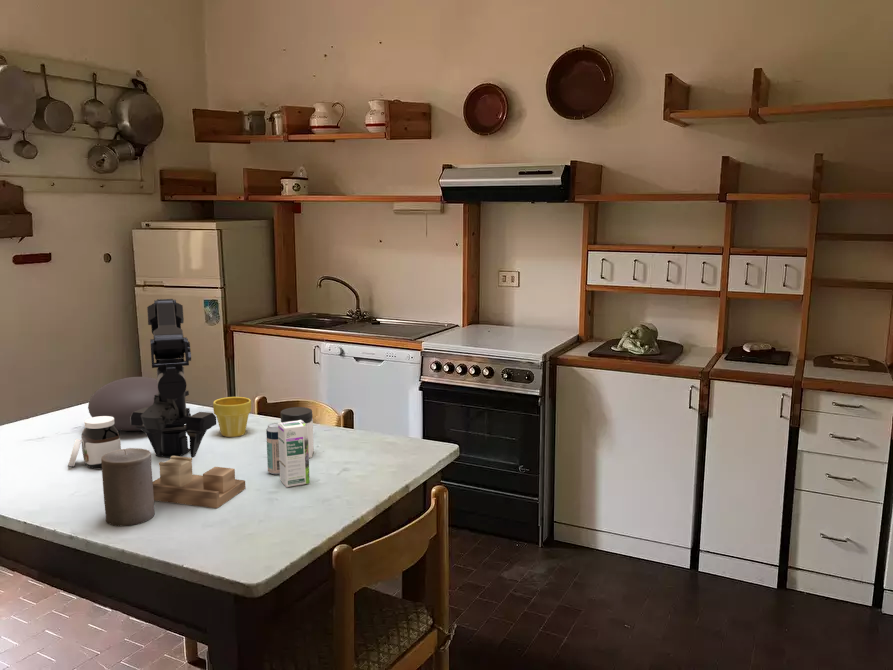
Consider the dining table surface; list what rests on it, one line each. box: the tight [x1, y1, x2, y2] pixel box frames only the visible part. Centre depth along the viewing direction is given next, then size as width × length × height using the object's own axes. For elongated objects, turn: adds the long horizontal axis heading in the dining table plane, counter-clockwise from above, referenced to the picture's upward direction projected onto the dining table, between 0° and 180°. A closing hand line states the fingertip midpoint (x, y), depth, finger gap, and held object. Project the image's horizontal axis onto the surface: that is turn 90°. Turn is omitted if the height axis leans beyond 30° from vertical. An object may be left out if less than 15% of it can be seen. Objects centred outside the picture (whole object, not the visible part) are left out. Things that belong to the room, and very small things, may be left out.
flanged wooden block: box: [158, 456, 194, 487], centre depth 173 cm, size 5×5×6 cm
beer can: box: [265, 422, 280, 476], centre depth 186 cm, size 5×5×12 cm
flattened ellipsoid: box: [87, 376, 158, 432], centre depth 221 cm, size 25×25×15 cm
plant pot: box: [212, 396, 252, 438], centre depth 217 cm, size 10×10×10 cm
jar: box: [280, 406, 315, 459], centre depth 199 cm, size 9×8×12 cm
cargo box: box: [202, 466, 236, 493], centre depth 171 cm, size 5×5×4 cm
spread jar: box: [67, 416, 122, 469], centre depth 191 cm, size 12×11×12 cm
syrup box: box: [277, 420, 311, 488], centre depth 179 cm, size 6×6×14 cm
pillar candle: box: [101, 447, 155, 527], centre depth 159 cm, size 10×10×15 cm
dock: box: [153, 474, 246, 509], centre depth 173 cm, size 20×12×4 cm, turn 75°
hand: (175, 455), depth 172 cm, fingers open, 9 cm apart
